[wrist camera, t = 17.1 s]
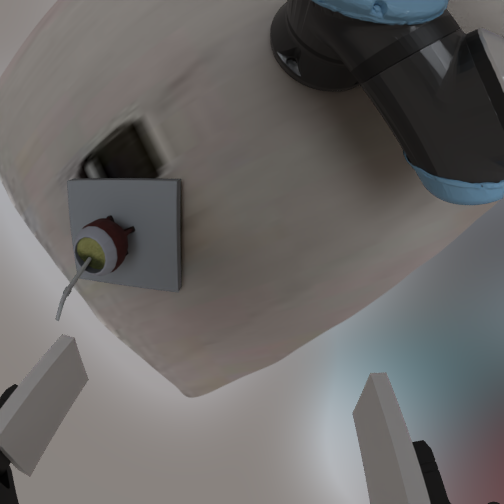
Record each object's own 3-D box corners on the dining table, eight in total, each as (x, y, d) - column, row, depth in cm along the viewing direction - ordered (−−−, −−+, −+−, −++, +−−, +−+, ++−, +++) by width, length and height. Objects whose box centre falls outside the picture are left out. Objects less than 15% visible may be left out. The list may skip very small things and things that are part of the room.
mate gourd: (127, 204, 38) (62, 239, 24) (149, 255, 41) (98, 310, 27) (89, 222, 40) (23, 261, 26) (111, 269, 42) (56, 322, 28)
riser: (184, 177, 40) (176, 181, 37) (184, 281, 46) (178, 292, 43) (79, 177, 41) (67, 180, 37) (88, 269, 46) (78, 278, 43)
